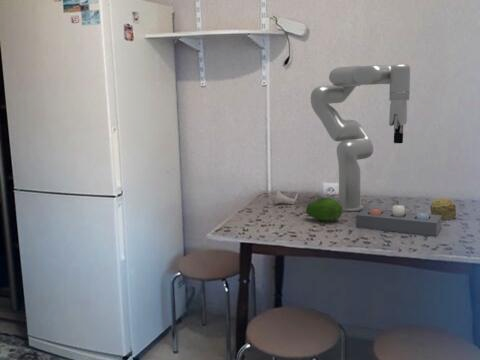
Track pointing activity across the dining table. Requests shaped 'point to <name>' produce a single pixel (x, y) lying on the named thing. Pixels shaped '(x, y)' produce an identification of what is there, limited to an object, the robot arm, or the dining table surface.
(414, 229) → the grey rectangular block
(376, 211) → the brown egg
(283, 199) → the toilet paper hanger
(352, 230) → the dining table surface
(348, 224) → the dining table surface
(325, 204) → the fruit
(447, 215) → the rock
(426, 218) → the light blue rounded cylinder
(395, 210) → the white rounded oval piece
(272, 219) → the dining table surface
